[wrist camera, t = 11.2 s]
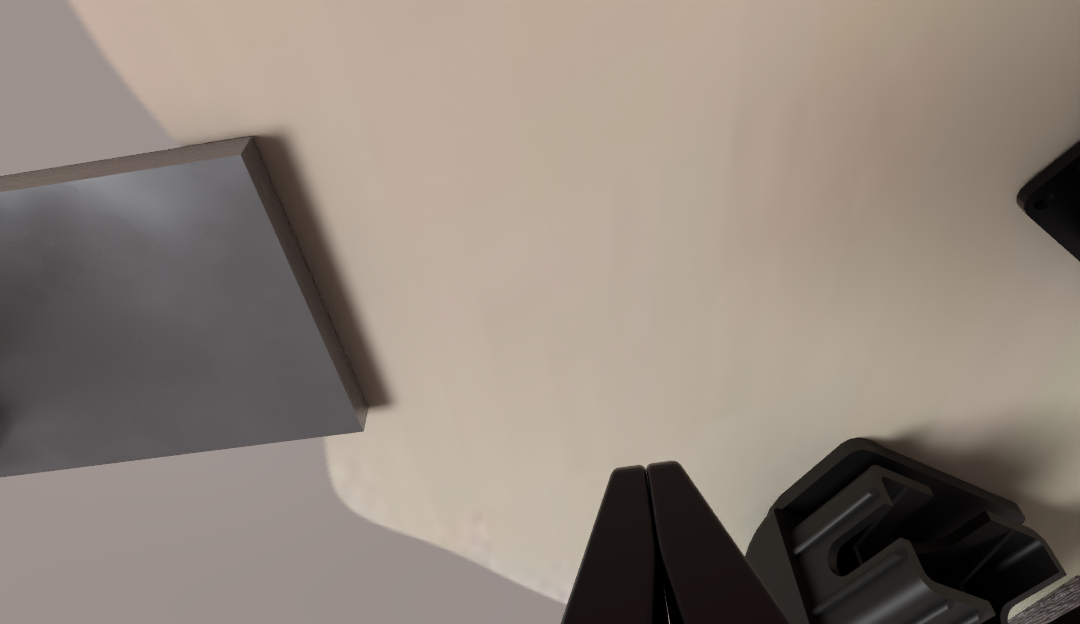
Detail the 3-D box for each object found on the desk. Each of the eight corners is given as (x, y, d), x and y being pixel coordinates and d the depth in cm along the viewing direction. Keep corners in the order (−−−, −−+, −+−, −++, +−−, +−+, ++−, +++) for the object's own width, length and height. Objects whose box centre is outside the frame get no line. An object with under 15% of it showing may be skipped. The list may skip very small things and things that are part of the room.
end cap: (718, 534, 31) (760, 708, 25) (842, 427, 27) (921, 606, 21) (897, 595, 34) (968, 761, 29) (1031, 508, 30) (1140, 681, 25)
